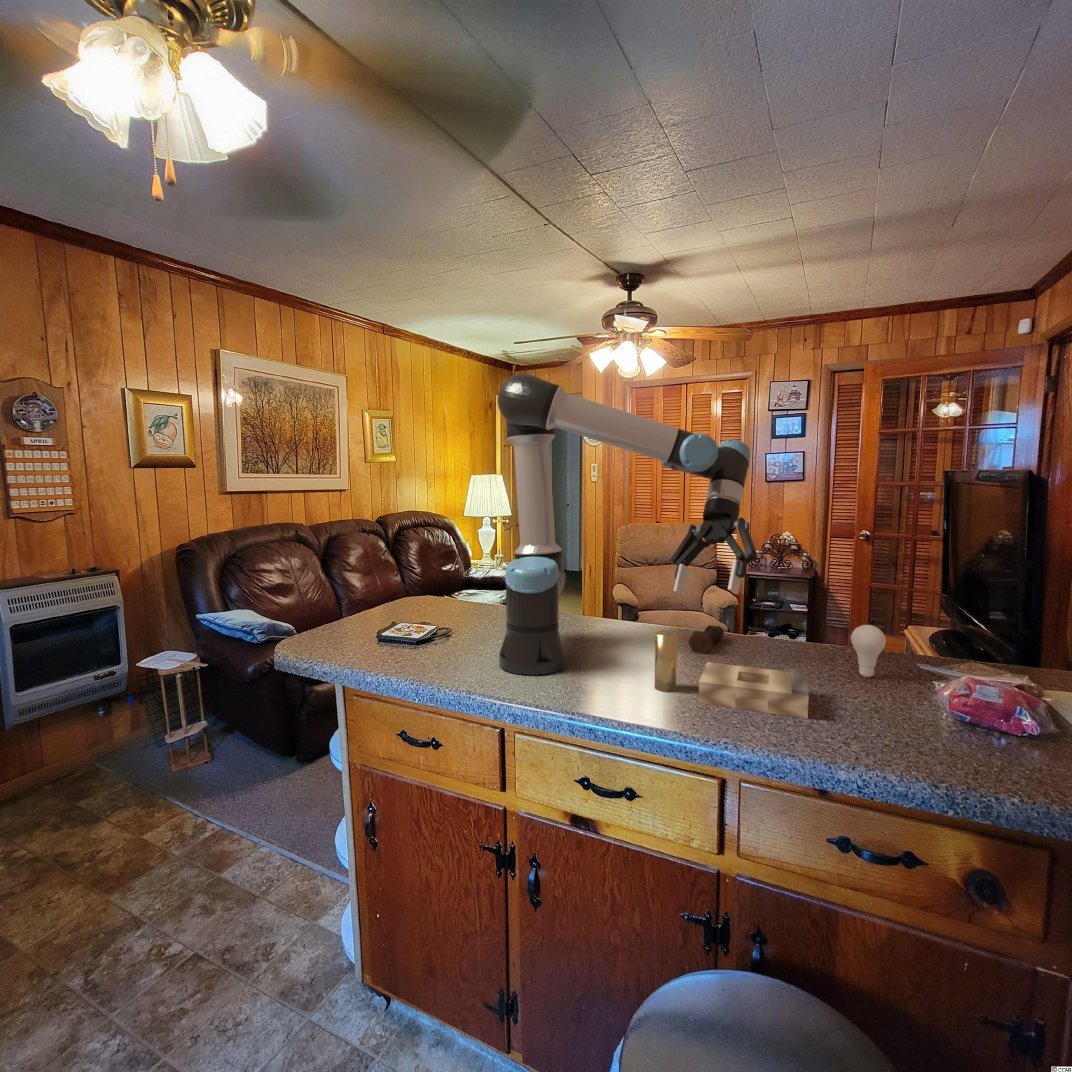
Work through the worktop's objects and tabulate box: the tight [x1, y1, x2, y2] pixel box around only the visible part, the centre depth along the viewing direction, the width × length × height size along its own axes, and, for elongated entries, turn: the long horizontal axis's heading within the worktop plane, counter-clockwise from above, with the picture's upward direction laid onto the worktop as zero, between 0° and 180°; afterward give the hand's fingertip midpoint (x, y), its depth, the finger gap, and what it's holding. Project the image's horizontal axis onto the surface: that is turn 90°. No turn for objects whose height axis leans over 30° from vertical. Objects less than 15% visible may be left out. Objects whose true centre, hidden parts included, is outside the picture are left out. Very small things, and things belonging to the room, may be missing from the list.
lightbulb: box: [850, 624, 887, 678], centre depth 113 cm, size 6×6×11 cm
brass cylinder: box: [654, 630, 678, 693], centre depth 108 cm, size 4×4×11 cm
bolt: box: [688, 624, 725, 655], centre depth 136 cm, size 6×5×15 cm
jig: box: [698, 661, 809, 720], centre depth 103 cm, size 18×12×5 cm, turn 66°
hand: (704, 592), depth 116 cm, fingers open, 13 cm apart
